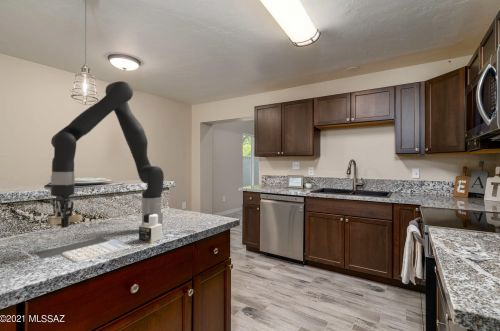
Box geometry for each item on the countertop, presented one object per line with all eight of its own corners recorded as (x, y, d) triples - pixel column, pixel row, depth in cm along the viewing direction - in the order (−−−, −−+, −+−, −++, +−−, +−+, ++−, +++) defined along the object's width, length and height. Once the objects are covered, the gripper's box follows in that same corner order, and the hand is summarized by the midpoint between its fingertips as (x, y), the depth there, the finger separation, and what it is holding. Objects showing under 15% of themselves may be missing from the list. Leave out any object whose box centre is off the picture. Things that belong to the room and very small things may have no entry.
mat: (100, 238, 113) (100, 237, 113) (111, 242, 108) (111, 241, 108) (33, 254, 93) (33, 253, 93) (42, 260, 88) (42, 258, 88)
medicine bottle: (138, 241, 110) (138, 214, 110) (150, 237, 117) (150, 211, 117) (150, 243, 107) (151, 216, 107) (162, 239, 114) (162, 213, 114)
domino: (82, 215, 102) (52, 219, 93) (82, 220, 102) (52, 225, 93) (77, 214, 104) (48, 218, 96) (77, 219, 104) (48, 223, 96)
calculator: (60, 256, 93) (60, 251, 93) (114, 243, 109) (114, 238, 109) (75, 265, 85) (75, 260, 85) (131, 249, 102) (131, 245, 102)
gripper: (44, 182, 98) (43, 225, 99) (58, 184, 91) (58, 231, 91) (66, 181, 105) (65, 222, 105) (81, 183, 97) (81, 227, 97)
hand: (62, 226), depth 98 cm, fingers closed on domino, 4 cm apart
